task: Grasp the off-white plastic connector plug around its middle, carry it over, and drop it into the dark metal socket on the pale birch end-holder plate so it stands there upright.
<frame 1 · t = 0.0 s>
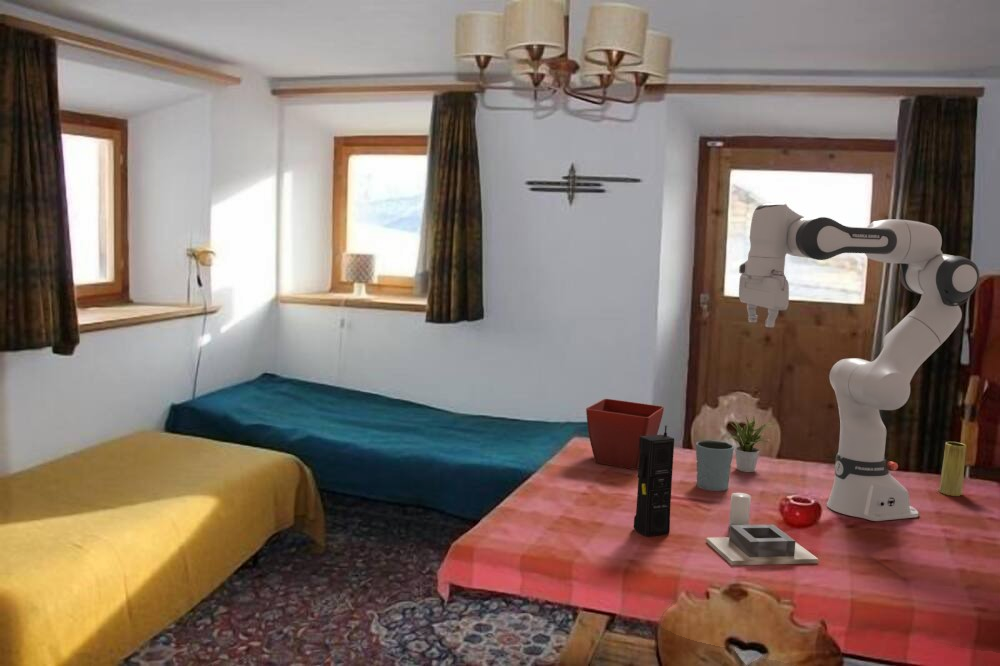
hand: (760, 324, 226), 48 cm above the table, fingers open, 8 cm apart
house plant: (748, 471, 271), on the table
plant pot: (622, 462, 274), on the table
connector plug: (738, 527, 220), on the table
portable radio: (650, 532, 214), on the table
end holder: (760, 552, 204), on the table
vase: (950, 493, 257), on the table
teal cup: (711, 487, 253), on the table
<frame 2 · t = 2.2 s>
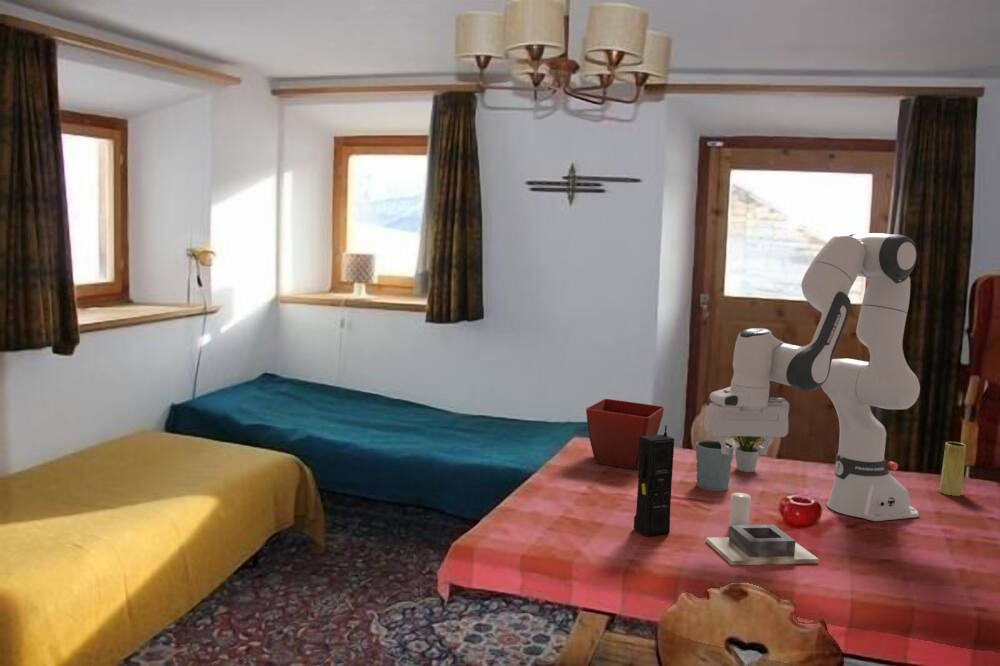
hand: (743, 454, 217), 18 cm above the table, fingers open, 8 cm apart
nothing on the table moved.
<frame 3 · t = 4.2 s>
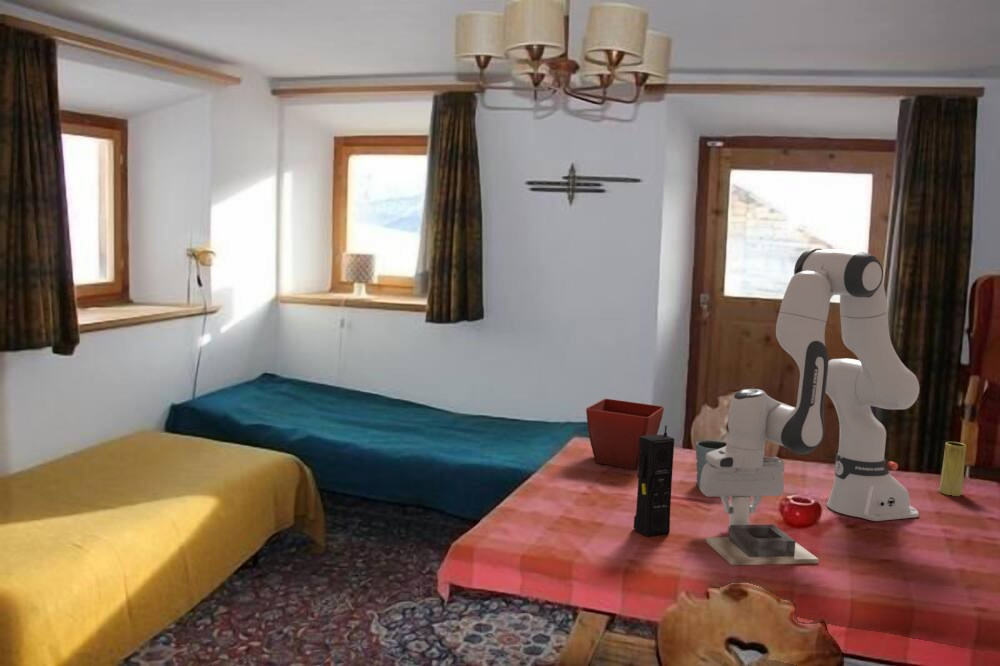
hand: (739, 513, 219), 4 cm above the table, fingers closed on connector plug, 4 cm apart
connector plug: (738, 527, 220), on the table, touching gripper
everything else where it was.
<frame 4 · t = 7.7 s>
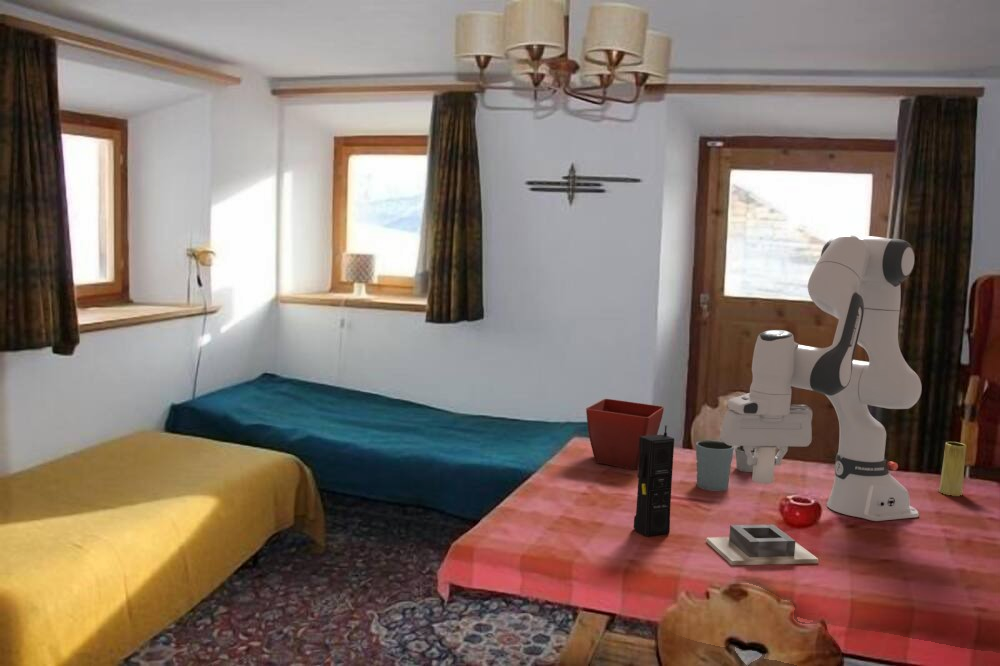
hand: (763, 464, 203), 20 cm above the table, fingers closed on connector plug, 4 cm apart
connector plug: (762, 480, 203), point 16 cm above the table, touching gripper
everything else where it was.
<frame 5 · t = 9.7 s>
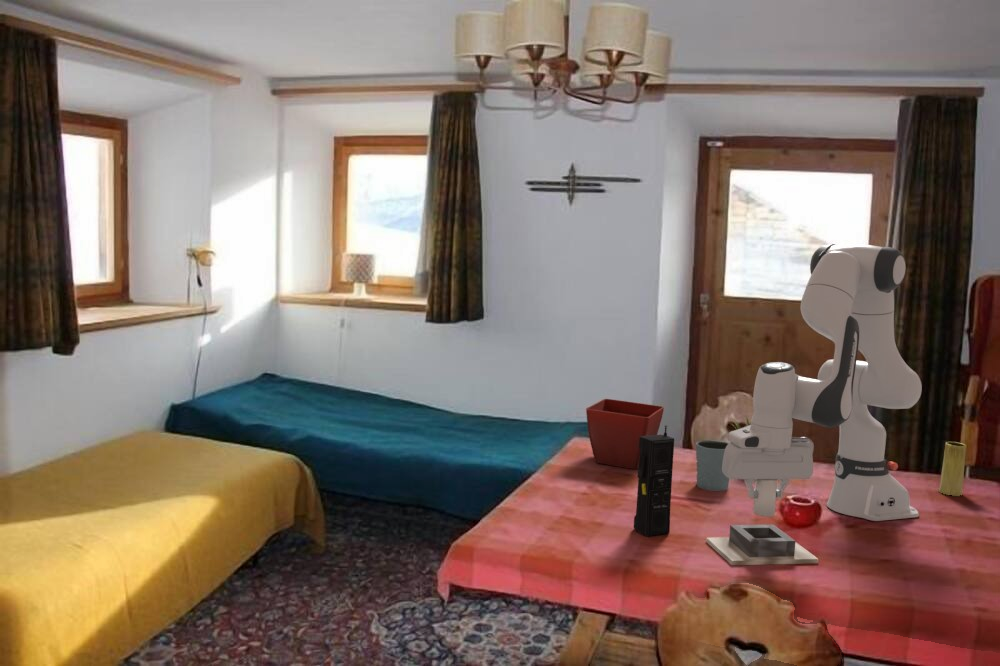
hand: (765, 497, 202), 13 cm above the table, fingers closed on connector plug, 4 cm apart
connector plug: (763, 513, 202), point 9 cm above the table, touching gripper
everything else where it was.
when the fingers open (6 cm above the table, at t = 11.6 s): connector plug drops 1 cm, resting on end holder.
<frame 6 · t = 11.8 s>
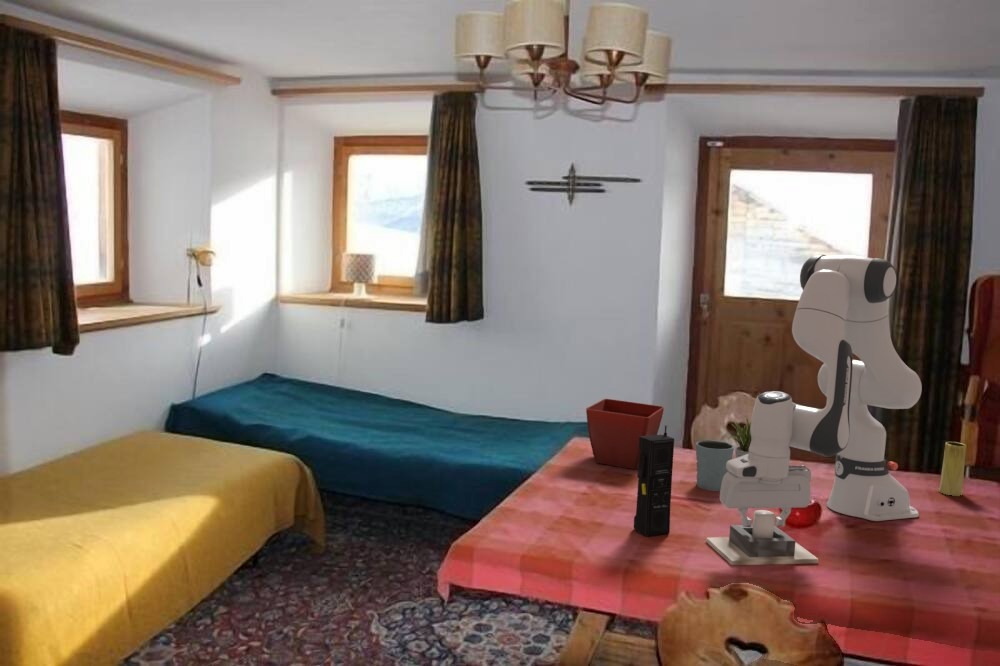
hand: (762, 526, 203), 6 cm above the table, fingers open, 7 cm apart
connector plug: (761, 547, 204), point 1 cm above the table, touching end holder
everything else where it was.
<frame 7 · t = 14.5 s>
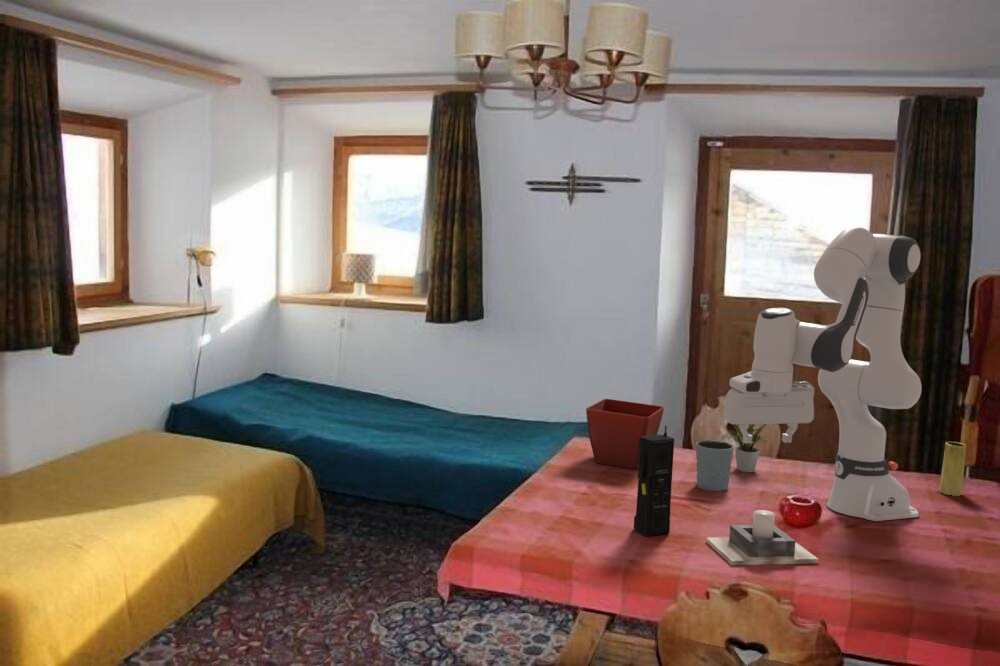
hand: (766, 442, 204), 24 cm above the table, fingers open, 8 cm apart
nothing on the table moved.
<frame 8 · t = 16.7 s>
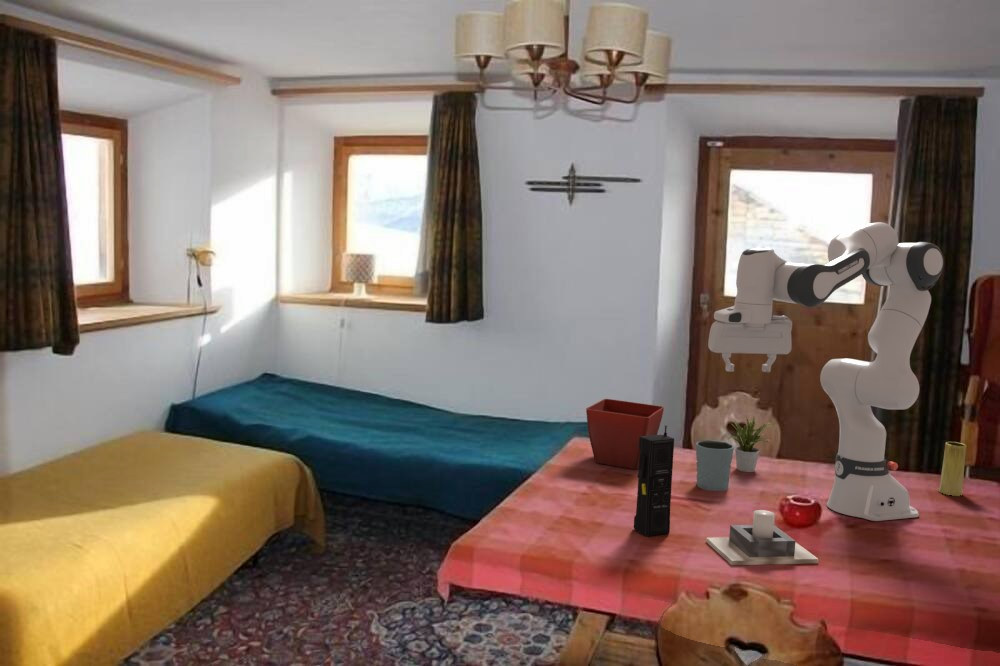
hand: (747, 371, 221), 37 cm above the table, fingers open, 8 cm apart
nothing on the table moved.
at the end: connector plug 0.1 cm off-centre on the end holder, point 1.0 cm above the end holder's base; connector plug tilted 0°; the gripper is holding nothing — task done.
